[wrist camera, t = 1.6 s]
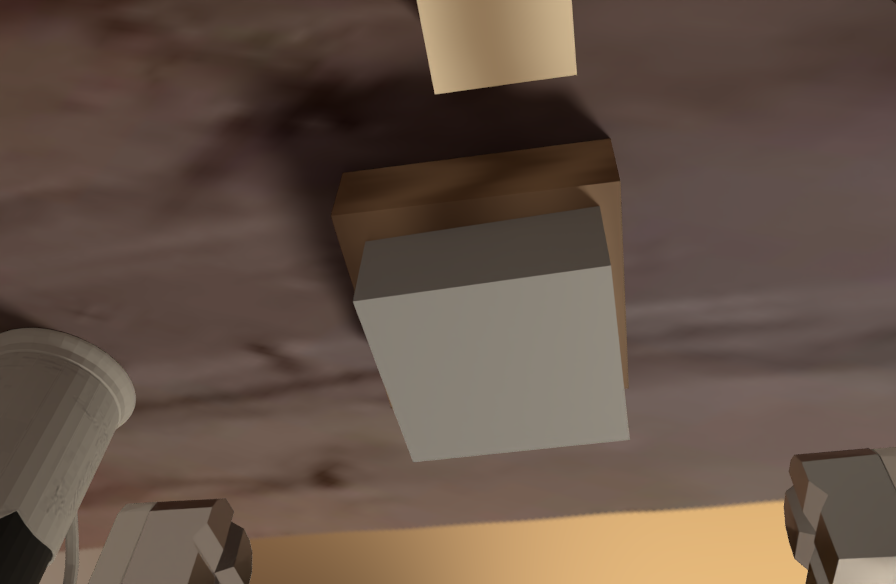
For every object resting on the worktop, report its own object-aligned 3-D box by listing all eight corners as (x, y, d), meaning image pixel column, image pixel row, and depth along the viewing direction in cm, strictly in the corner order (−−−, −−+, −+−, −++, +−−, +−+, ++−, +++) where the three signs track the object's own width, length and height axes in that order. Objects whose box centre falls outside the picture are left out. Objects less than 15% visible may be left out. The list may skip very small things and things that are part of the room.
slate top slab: (599, 206, 33) (611, 265, 30) (618, 375, 39) (629, 439, 36) (365, 241, 34) (352, 301, 31) (419, 399, 40) (413, 462, 37)
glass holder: (100, 322, 43) (-44, 577, 31) (186, 485, 52) (99, 730, 40) (-51, 332, 44) (-245, 584, 32) (60, 491, 53) (-61, 732, 41)
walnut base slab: (608, 132, 35) (620, 181, 32) (618, 333, 42) (628, 388, 39) (344, 167, 37) (330, 215, 34) (398, 354, 44) (391, 408, 41)
